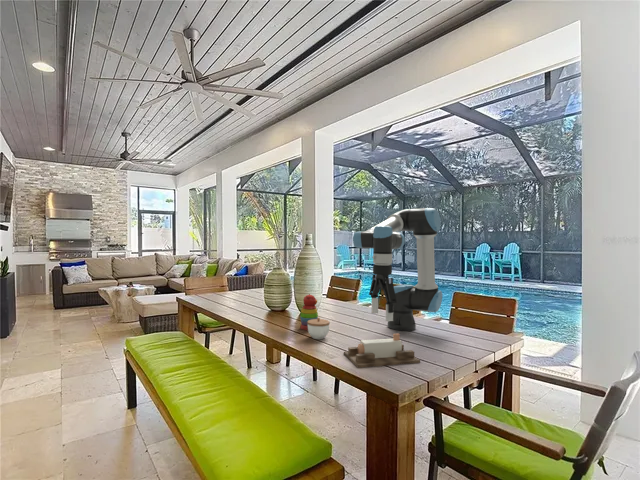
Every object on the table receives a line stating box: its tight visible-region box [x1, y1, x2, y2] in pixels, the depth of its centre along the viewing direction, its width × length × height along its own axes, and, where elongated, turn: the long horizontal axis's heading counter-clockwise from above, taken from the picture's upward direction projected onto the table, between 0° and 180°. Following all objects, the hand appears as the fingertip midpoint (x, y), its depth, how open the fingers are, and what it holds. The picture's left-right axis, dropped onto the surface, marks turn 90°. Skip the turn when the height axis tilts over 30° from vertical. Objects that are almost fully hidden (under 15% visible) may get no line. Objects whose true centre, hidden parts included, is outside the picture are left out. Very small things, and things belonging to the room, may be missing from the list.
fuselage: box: [357, 333, 403, 358], centre depth 140 cm, size 17×4×8 cm, turn 105°
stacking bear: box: [299, 293, 319, 331], centre depth 186 cm, size 11×10×18 cm
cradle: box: [343, 344, 421, 369], centre depth 141 cm, size 26×16×4 cm, turn 105°
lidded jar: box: [307, 317, 331, 340], centre depth 169 cm, size 11×11×9 cm
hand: (381, 317), depth 141 cm, fingers open, 13 cm apart
